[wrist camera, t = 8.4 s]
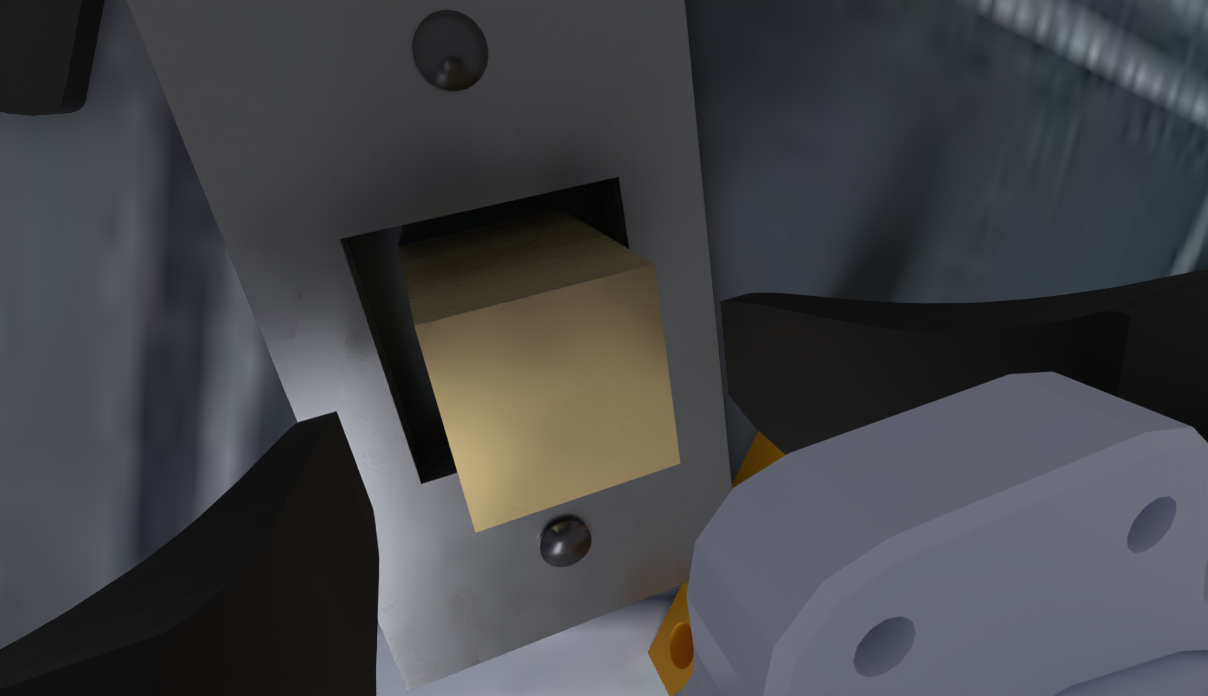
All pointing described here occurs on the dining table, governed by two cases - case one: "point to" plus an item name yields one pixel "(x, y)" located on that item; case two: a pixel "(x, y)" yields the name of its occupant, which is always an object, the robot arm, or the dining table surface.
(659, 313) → the brass block
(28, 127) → the dining table surface
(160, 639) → the robot arm
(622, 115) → the metal plate with hole
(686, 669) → the pipe clamp
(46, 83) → the smart home device
